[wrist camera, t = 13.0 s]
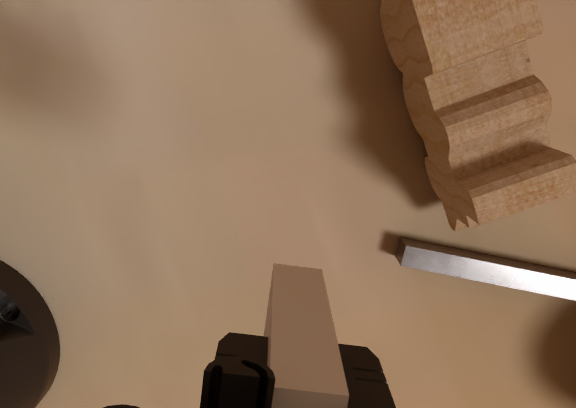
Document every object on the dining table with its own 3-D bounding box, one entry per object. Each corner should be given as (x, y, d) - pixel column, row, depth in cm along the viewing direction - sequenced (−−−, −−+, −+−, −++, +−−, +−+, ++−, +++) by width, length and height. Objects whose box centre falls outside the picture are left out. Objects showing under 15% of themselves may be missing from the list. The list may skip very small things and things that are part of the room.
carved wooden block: (440, 218, 38) (492, 267, 28) (367, -17, 34) (397, -55, 24) (515, 192, 37) (594, 233, 28) (449, -49, 34) (512, -101, 24)
